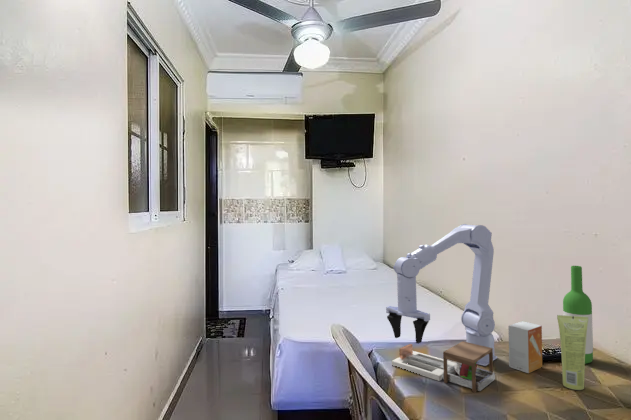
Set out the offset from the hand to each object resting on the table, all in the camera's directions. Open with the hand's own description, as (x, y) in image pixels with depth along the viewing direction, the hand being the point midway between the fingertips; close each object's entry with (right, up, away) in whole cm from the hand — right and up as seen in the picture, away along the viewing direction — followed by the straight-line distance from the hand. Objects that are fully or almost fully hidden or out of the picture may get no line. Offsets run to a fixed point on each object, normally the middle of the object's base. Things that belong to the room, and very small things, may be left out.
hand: (408, 339), depth 123 cm
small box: (+36, -8, -1) cm, 37 cm away
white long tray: (+10, -9, -3) cm, 13 cm away
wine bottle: (+55, -8, +3) cm, 56 cm away
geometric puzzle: (+15, -9, -9) cm, 20 cm away
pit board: (+6, -9, +1) cm, 11 cm away
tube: (+42, -8, -15) cm, 45 cm away
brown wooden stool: (+15, -9, -9) cm, 20 cm away
